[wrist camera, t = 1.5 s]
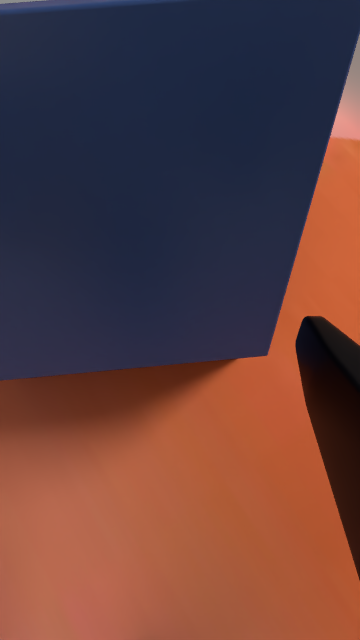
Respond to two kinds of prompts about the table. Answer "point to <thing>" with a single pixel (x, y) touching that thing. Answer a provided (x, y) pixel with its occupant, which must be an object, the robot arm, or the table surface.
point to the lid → (158, 174)
